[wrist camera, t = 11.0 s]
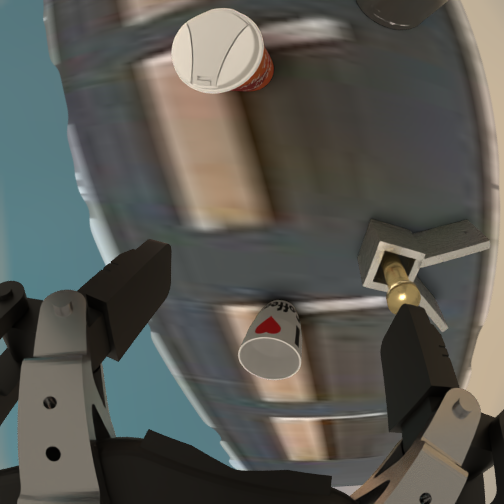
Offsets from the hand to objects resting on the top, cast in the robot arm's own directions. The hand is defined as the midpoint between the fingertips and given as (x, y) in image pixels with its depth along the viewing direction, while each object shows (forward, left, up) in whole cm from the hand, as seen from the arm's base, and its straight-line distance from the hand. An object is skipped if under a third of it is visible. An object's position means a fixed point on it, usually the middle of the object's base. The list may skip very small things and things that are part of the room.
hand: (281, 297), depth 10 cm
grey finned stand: (+8, +16, -28) cm, 33 cm away
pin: (+8, +12, -28) cm, 32 cm away
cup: (+23, +1, -28) cm, 36 cm away
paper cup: (-10, -9, -28) cm, 31 cm away
